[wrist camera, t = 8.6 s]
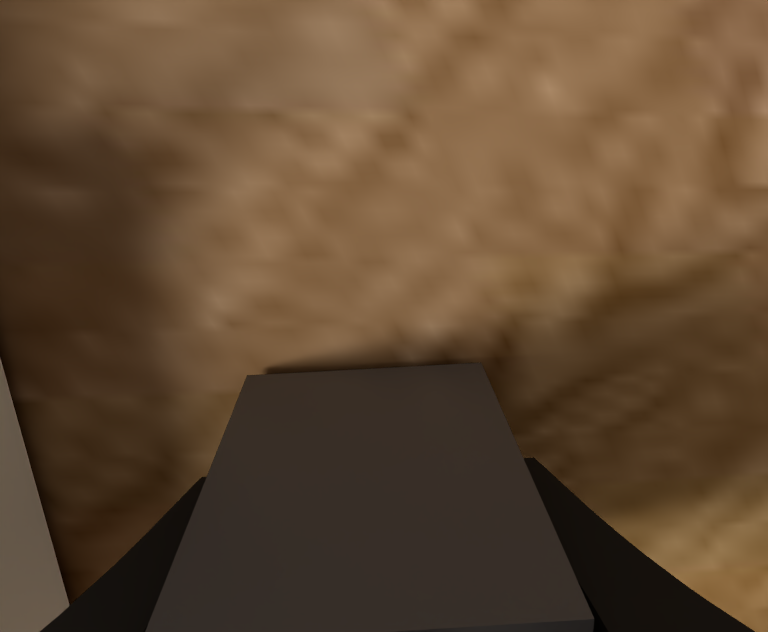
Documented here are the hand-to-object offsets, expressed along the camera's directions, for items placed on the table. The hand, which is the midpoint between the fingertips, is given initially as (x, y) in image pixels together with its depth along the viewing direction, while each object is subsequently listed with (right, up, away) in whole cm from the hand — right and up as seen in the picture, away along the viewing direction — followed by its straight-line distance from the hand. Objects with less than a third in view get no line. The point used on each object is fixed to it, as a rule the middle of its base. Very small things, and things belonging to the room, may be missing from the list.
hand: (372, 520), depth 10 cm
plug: (0, 0, +1) cm, 1 cm away
